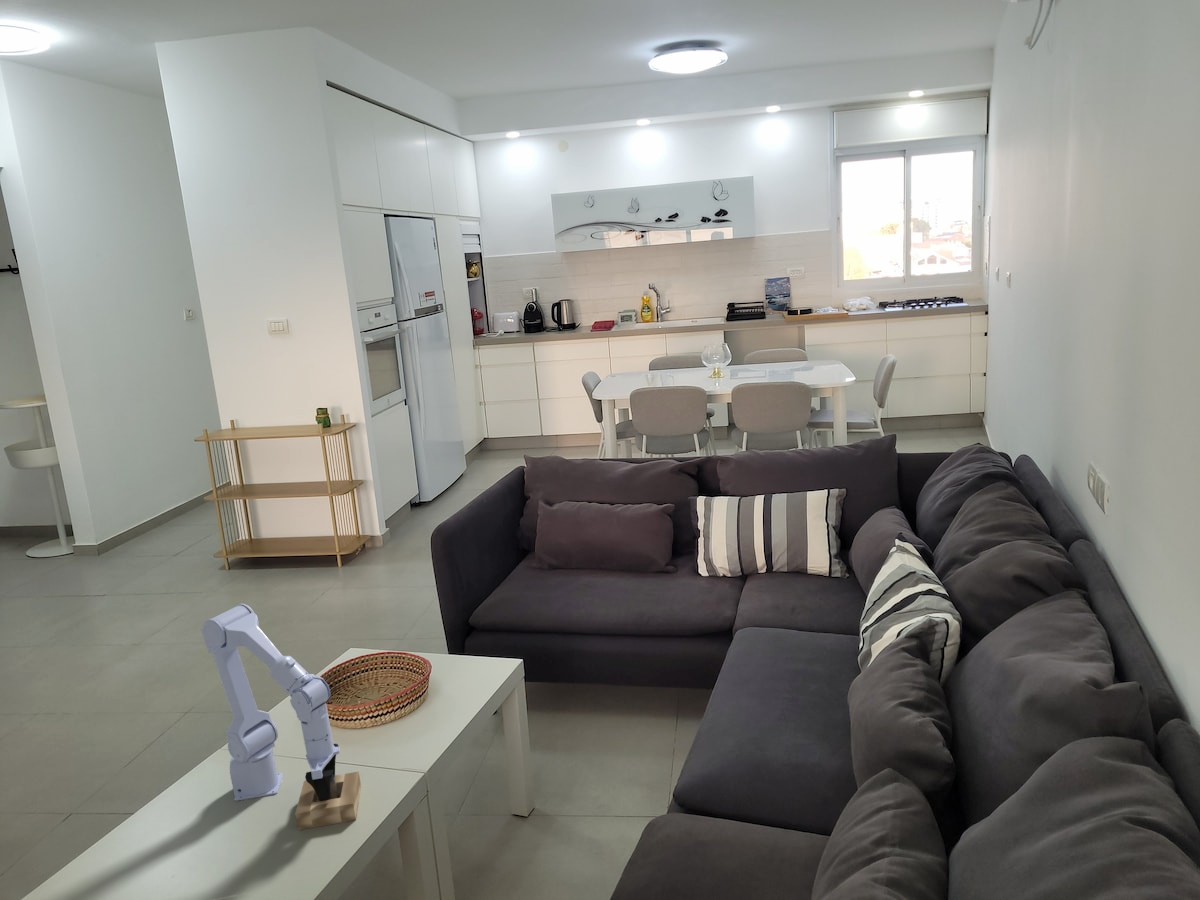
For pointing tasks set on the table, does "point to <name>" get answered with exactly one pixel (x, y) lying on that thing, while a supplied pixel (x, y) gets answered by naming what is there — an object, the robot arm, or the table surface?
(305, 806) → the well block
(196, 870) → the table surface
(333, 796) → the grey block
